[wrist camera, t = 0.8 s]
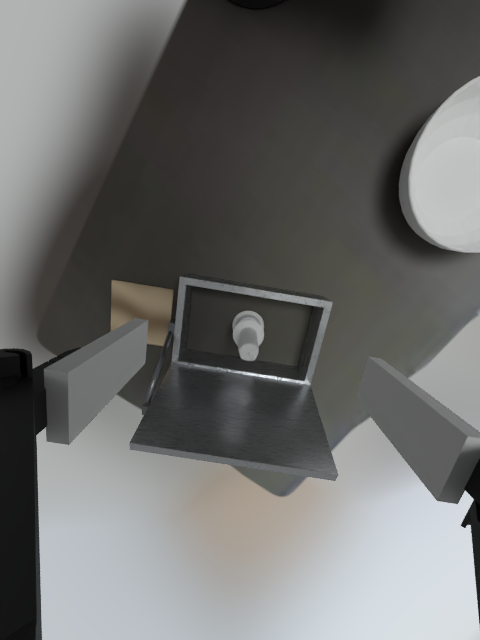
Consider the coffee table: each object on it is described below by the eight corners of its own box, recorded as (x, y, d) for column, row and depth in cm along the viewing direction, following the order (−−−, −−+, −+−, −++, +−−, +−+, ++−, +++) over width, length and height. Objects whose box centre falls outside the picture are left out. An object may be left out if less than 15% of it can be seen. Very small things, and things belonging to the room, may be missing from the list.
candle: (270, 329, 41) (279, 359, 30) (244, 346, 42) (243, 381, 31) (252, 304, 40) (254, 325, 29) (226, 321, 41) (218, 348, 30)
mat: (113, 279, 40) (111, 280, 39) (174, 289, 40) (173, 290, 39) (111, 336, 42) (110, 337, 42) (168, 346, 43) (168, 346, 42)
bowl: (440, 279, 38) (475, 283, 32) (353, 193, 35) (374, 181, 30) (553, 170, 34) (618, 153, 28) (465, 62, 31) (517, 18, 25)
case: (181, 272, 39) (125, 289, 21) (322, 296, 40) (387, 333, 21) (172, 367, 44) (119, 449, 25) (298, 387, 44) (335, 482, 26)
